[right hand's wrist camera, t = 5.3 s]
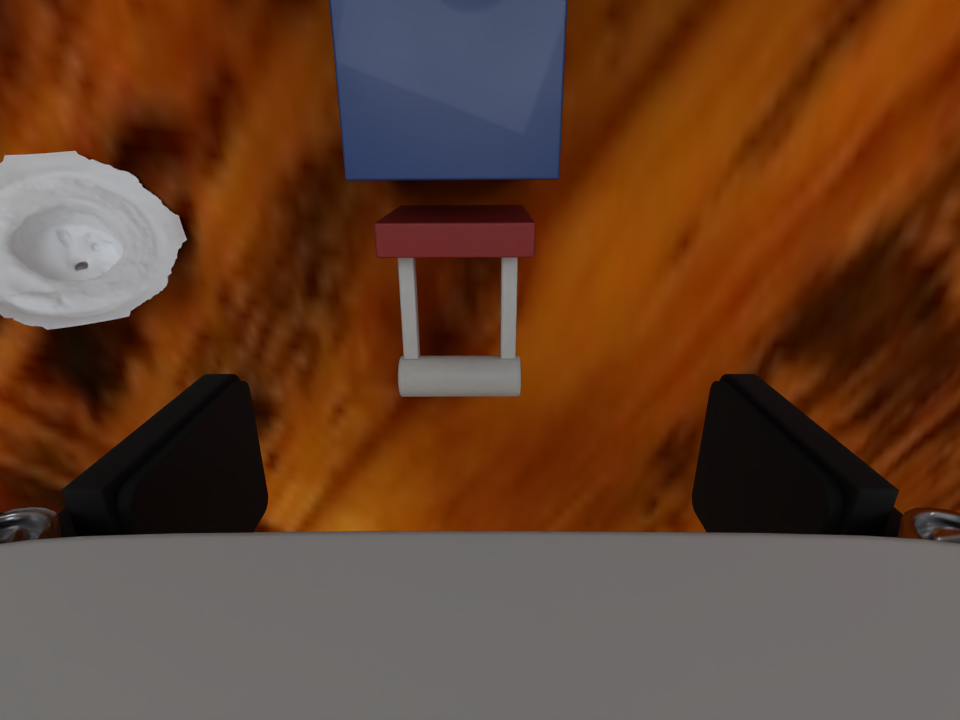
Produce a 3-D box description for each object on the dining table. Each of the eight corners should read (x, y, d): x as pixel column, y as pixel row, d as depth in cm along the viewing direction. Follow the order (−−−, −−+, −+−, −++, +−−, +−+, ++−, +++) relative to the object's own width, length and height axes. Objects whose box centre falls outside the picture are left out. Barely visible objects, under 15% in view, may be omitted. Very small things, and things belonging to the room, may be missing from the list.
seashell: (128, 225, 29) (-88, 208, 22) (157, 155, 25) (-85, 114, 19) (173, 355, 27) (-48, 376, 21) (211, 297, 24) (-38, 301, 17)
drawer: (519, 356, 26) (529, 414, 21) (408, 357, 26) (388, 414, 21) (533, -261, 18) (557, -451, 12) (373, -259, 18) (322, -448, 12)
